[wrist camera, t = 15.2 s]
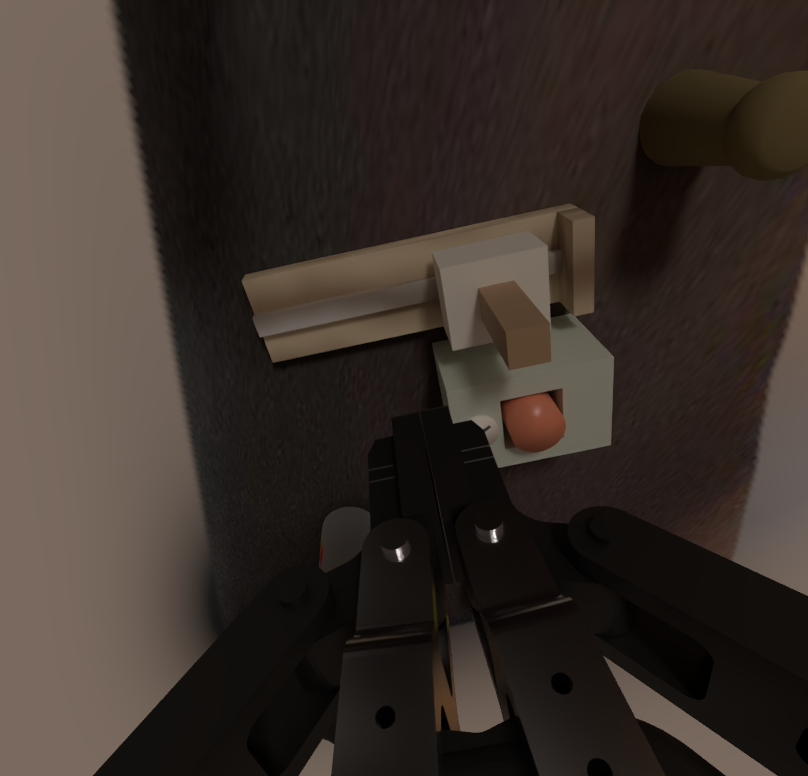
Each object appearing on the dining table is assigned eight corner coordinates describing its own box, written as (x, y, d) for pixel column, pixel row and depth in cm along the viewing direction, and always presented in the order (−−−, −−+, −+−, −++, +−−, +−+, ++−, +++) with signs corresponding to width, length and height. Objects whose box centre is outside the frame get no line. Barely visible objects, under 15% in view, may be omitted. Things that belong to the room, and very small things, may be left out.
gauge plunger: (489, 372, 40) (509, 414, 35) (538, 362, 40) (565, 402, 35) (494, 412, 42) (513, 457, 37) (540, 402, 42) (566, 446, 37)
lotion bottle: (330, 547, 54) (318, 761, 36) (315, 511, 51) (294, 724, 33) (381, 537, 53) (393, 747, 36) (369, 500, 50) (376, 709, 33)
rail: (245, 274, 37) (232, 295, 34) (569, 203, 37) (594, 216, 33) (275, 354, 41) (267, 381, 37) (571, 291, 40) (593, 312, 36)
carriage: (431, 251, 35) (459, 310, 25) (528, 230, 35) (592, 282, 25) (444, 327, 38) (472, 405, 29) (533, 308, 38) (591, 380, 28)
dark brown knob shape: (652, 183, 36) (756, 215, 27) (627, 103, 34) (733, 108, 24) (733, 135, 35) (871, 150, 26) (714, 47, 32) (861, 29, 23)
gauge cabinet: (431, 343, 42) (447, 395, 35) (571, 313, 41) (616, 359, 34) (445, 418, 46) (462, 478, 39) (572, 391, 46) (612, 448, 38)
